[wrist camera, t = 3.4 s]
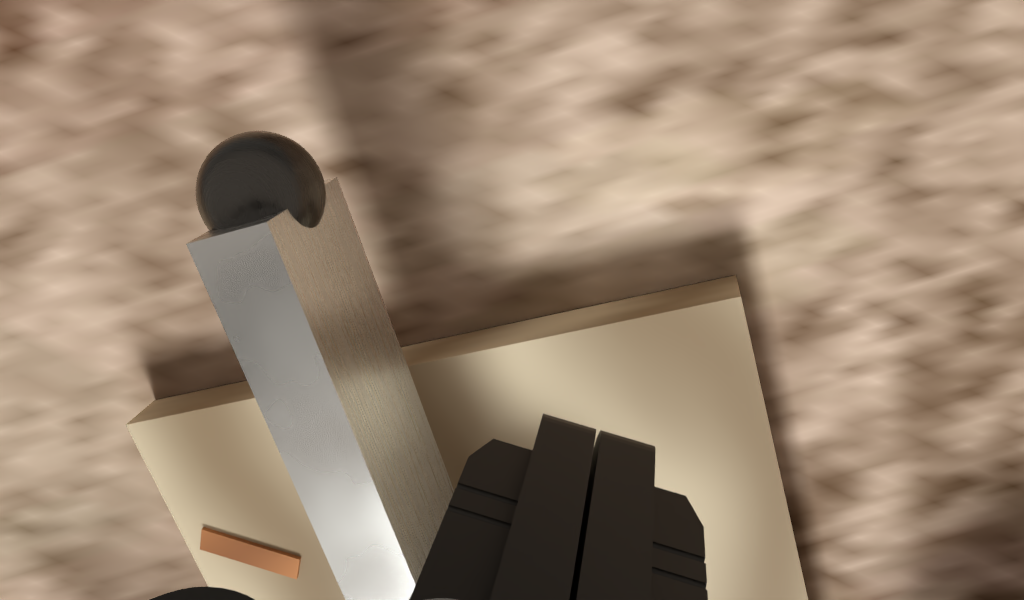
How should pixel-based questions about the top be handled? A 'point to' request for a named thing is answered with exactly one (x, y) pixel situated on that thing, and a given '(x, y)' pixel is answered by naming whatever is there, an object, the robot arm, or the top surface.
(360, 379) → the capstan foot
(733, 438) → the beige flat square slab
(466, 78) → the top surface
